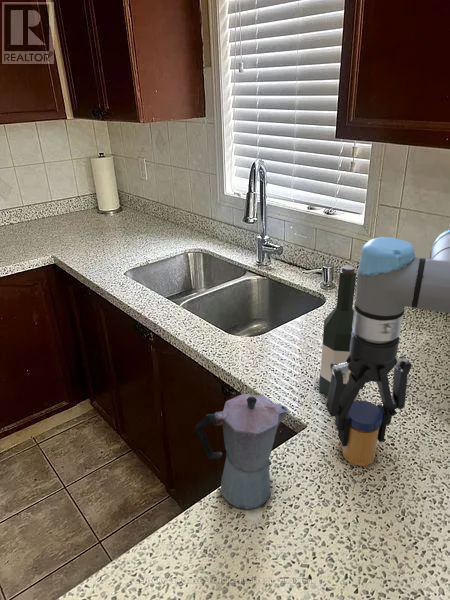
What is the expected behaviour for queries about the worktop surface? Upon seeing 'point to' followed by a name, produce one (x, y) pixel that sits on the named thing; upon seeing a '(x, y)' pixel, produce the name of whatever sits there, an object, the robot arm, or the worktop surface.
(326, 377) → the wine bottle
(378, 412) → the jam lid
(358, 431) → the jam jar
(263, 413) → the moka pot
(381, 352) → the robot arm
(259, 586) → the worktop surface
